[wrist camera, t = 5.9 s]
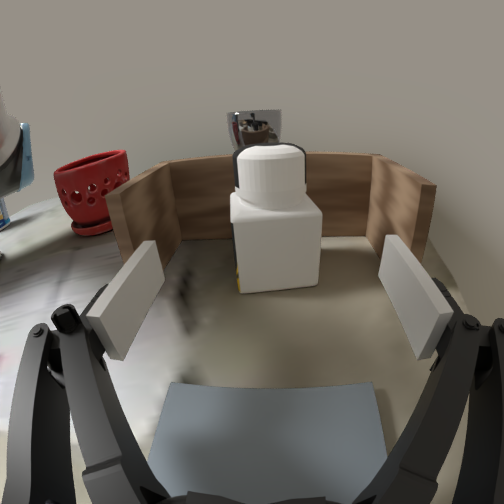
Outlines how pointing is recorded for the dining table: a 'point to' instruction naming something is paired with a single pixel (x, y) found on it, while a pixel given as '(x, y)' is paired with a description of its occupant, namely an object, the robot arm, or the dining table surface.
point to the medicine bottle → (273, 219)
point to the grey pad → (268, 442)
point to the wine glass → (254, 127)
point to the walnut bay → (317, 189)
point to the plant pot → (91, 189)
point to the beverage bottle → (3, 215)
